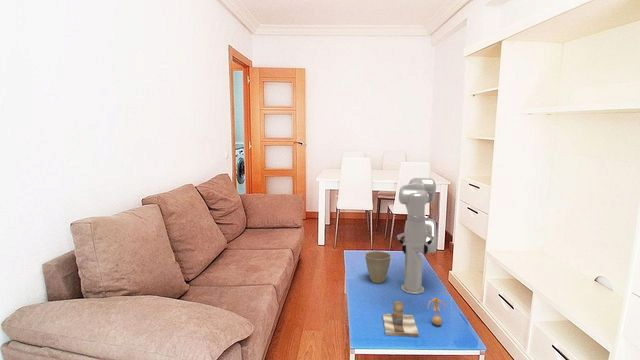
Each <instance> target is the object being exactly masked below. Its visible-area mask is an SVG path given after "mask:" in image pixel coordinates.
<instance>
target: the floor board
mask: <svg viewBox="0 0 640 360" xmlns="http://www.w3.org/2000/svg"><path fill="white" fill-rule="evenodd" d="M382 319H383V320H382V321H383V328H384V334H385V336H392V337H395V336H396V337H409V338H411V337H413V338H419V335H420V333H419V331H418V327H417V325H416V321H415V319H414V315H413V314H403V324H401V325H396V324H394V323H393V313H382Z"/></svg>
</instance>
